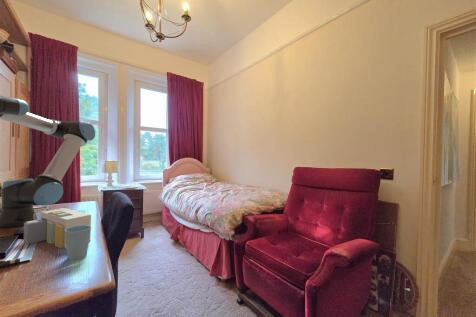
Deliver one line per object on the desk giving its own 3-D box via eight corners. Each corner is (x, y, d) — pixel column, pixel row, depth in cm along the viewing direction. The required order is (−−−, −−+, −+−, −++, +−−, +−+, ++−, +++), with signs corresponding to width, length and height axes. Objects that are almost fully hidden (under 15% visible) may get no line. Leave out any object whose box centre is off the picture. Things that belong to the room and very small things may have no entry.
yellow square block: (60, 248, 86) (60, 226, 86) (55, 246, 87) (55, 224, 87) (82, 241, 93) (83, 221, 93) (77, 239, 94) (78, 220, 94)
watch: (56, 230, 106) (56, 207, 106) (33, 234, 100) (34, 210, 100) (53, 228, 110) (54, 206, 110) (31, 231, 103) (32, 208, 103)
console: (65, 248, 86) (66, 218, 86) (40, 237, 96) (40, 210, 96) (90, 241, 94) (91, 213, 94) (64, 232, 104) (64, 207, 104)
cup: (71, 264, 74) (72, 233, 74) (59, 259, 77) (60, 229, 77) (94, 255, 81) (95, 227, 81) (82, 251, 84) (83, 224, 84)
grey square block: (27, 244, 88) (28, 223, 88) (23, 242, 90) (24, 221, 90) (51, 238, 95) (52, 218, 95) (47, 236, 97) (48, 217, 97)
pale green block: (51, 244, 89) (51, 223, 89) (46, 242, 91) (47, 221, 91) (73, 238, 96) (74, 219, 96) (68, 236, 98) (69, 217, 98)
